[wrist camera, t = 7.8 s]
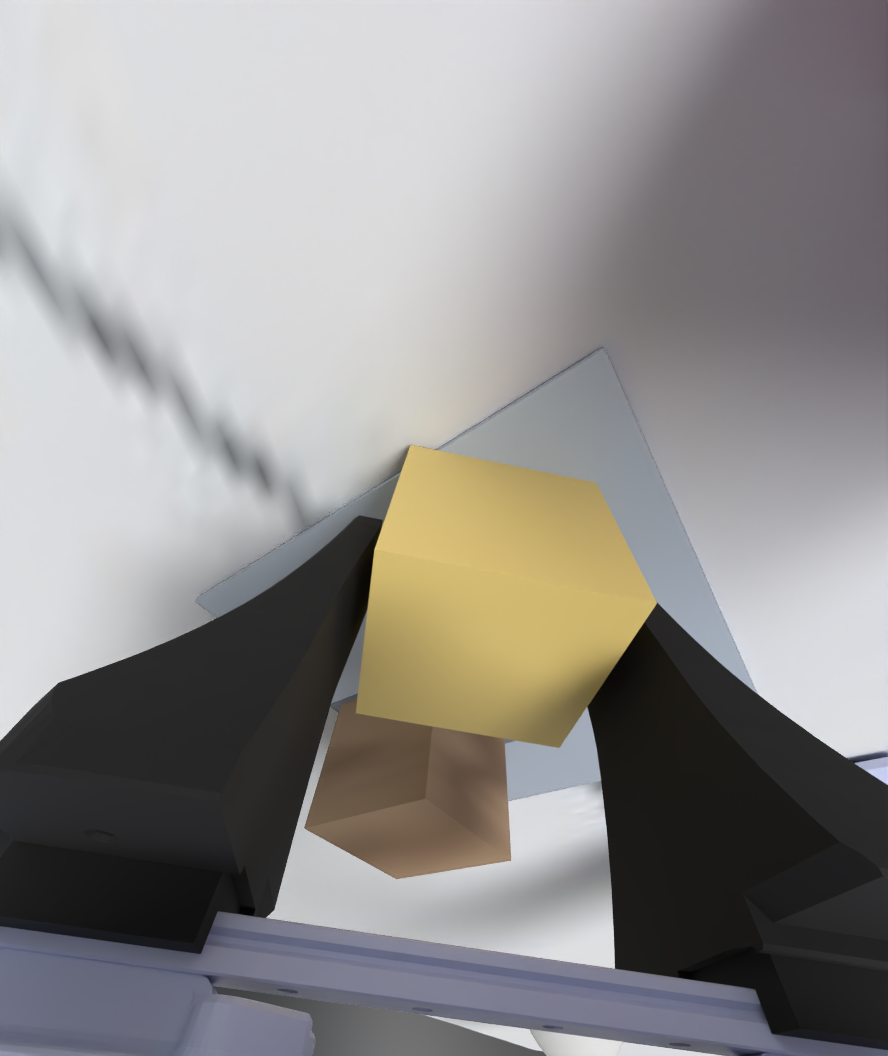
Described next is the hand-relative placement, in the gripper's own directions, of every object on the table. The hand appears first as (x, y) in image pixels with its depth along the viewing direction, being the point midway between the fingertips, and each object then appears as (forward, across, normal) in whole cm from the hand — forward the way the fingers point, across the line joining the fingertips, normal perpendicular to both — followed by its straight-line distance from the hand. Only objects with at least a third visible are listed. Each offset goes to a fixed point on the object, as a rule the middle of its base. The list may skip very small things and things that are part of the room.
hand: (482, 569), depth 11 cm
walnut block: (+1, 0, +10) cm, 10 cm away
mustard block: (+1, 0, 0) cm, 1 cm away
